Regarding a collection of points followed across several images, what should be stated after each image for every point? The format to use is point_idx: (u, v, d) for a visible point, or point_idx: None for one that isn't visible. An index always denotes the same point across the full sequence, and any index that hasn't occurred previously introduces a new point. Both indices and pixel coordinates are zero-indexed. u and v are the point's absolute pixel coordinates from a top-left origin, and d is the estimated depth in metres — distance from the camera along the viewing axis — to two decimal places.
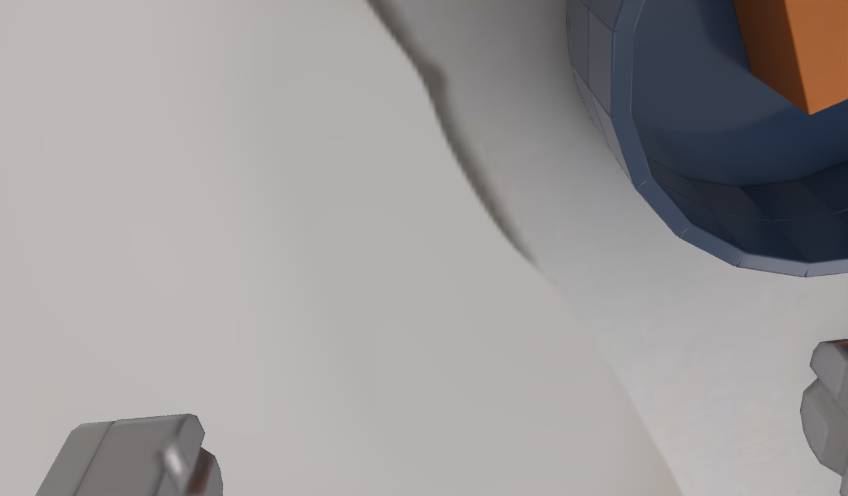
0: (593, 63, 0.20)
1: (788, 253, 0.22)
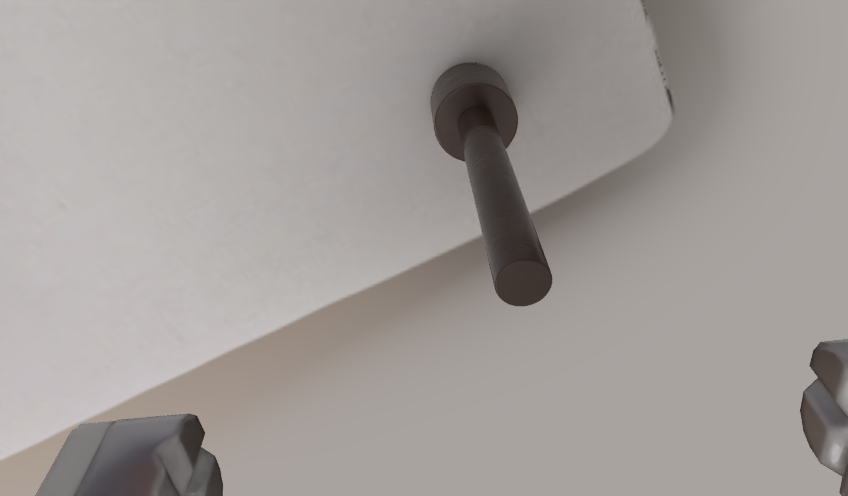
0: None
1: None
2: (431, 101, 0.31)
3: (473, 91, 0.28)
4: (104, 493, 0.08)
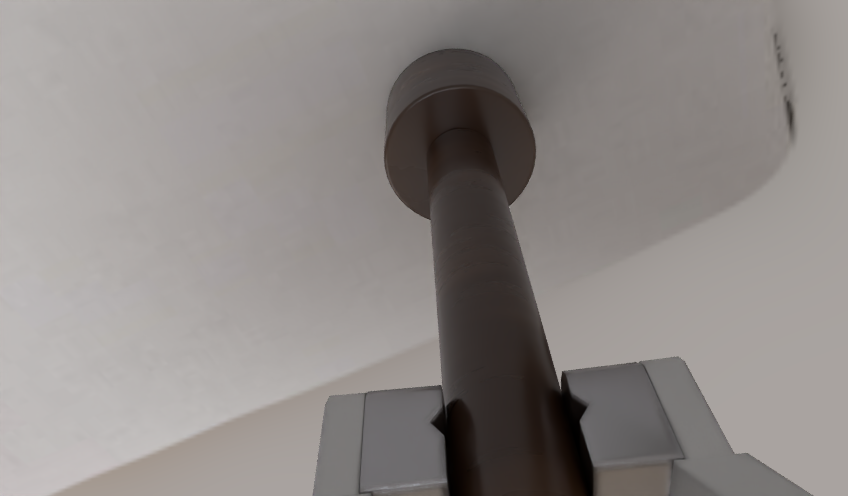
0: None
1: None
2: (386, 114, 0.18)
3: (454, 99, 0.15)
4: (390, 462, 0.07)
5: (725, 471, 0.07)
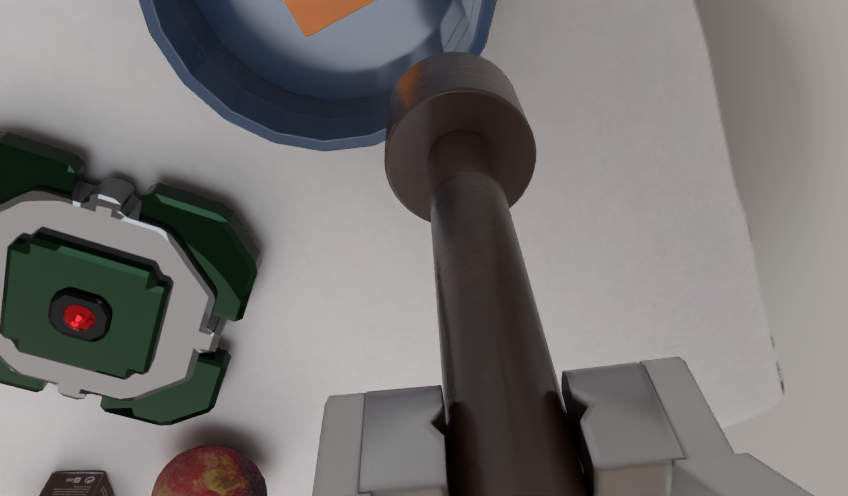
0: None
1: None
2: None
3: (455, 102, 0.15)
4: (390, 462, 0.07)
5: (726, 471, 0.07)
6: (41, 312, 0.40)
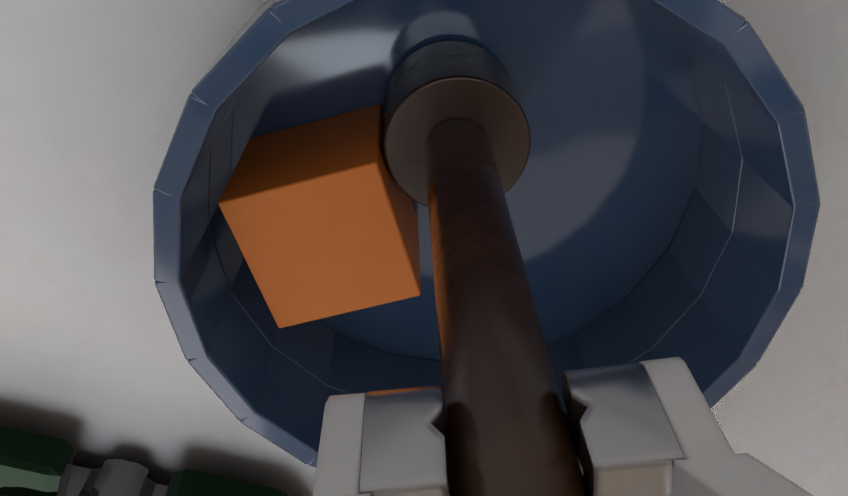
0: None
1: (184, 253, 0.16)
2: None
3: (449, 91, 0.16)
4: (390, 462, 0.07)
5: (725, 471, 0.07)
6: None
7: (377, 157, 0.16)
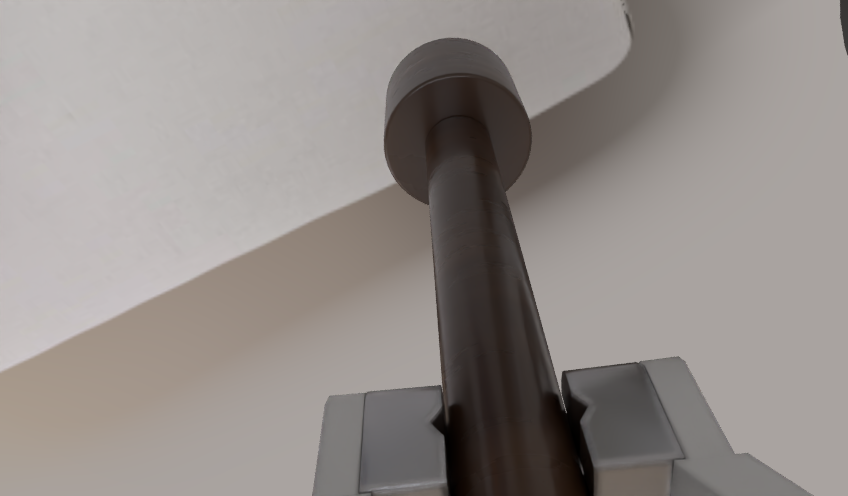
0: None
1: None
2: None
3: (449, 88, 0.16)
4: (390, 462, 0.07)
5: (725, 471, 0.07)
6: None
7: None
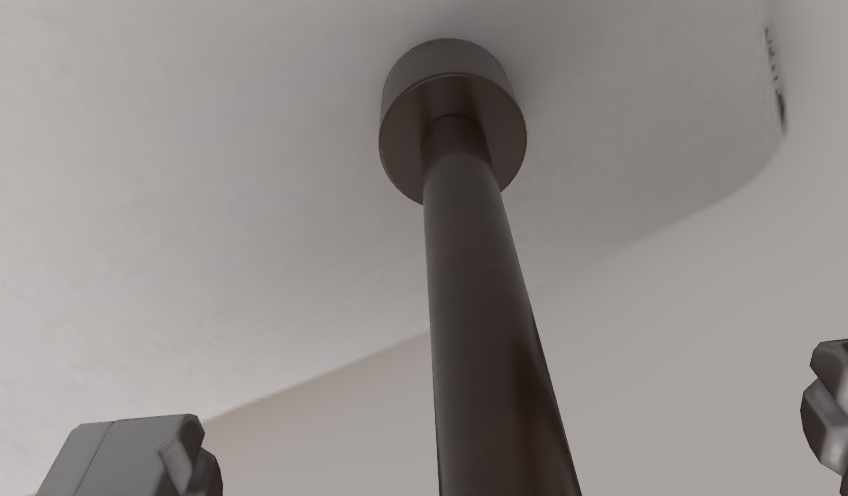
0: None
1: None
2: None
3: (444, 87, 0.16)
4: (104, 493, 0.08)
5: None
6: None
7: None
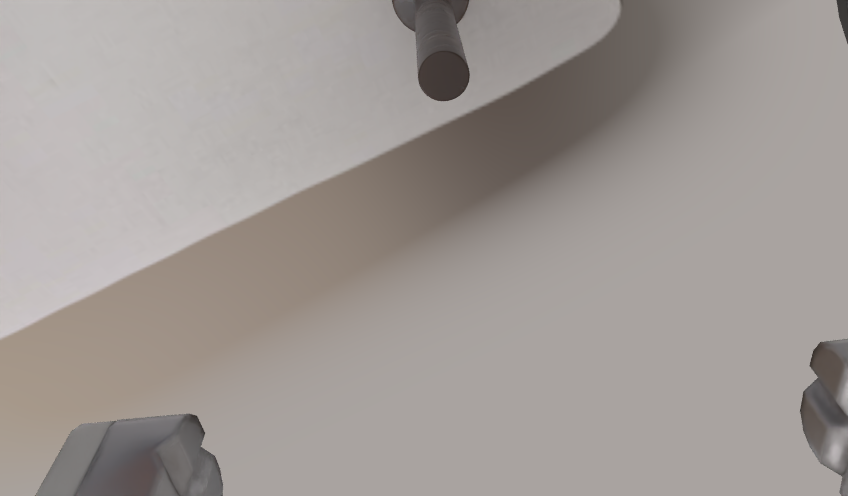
0: None
1: None
2: None
3: None
4: (104, 494, 0.08)
5: None
6: None
7: None
